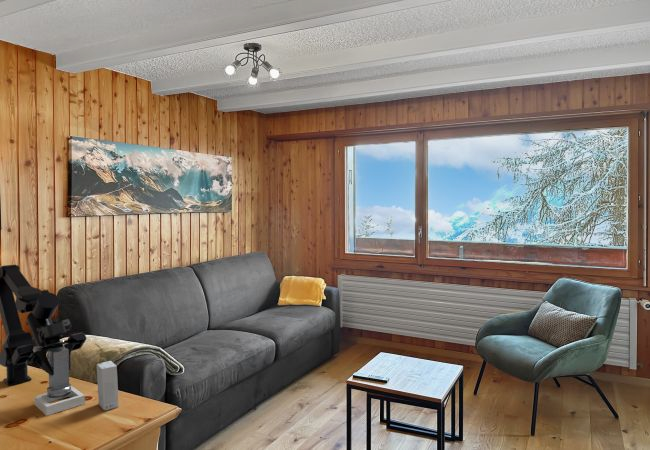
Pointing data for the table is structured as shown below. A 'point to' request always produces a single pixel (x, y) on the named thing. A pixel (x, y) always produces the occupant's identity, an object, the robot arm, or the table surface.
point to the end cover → (59, 373)
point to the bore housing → (49, 409)
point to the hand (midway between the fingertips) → (60, 372)
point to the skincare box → (107, 385)
